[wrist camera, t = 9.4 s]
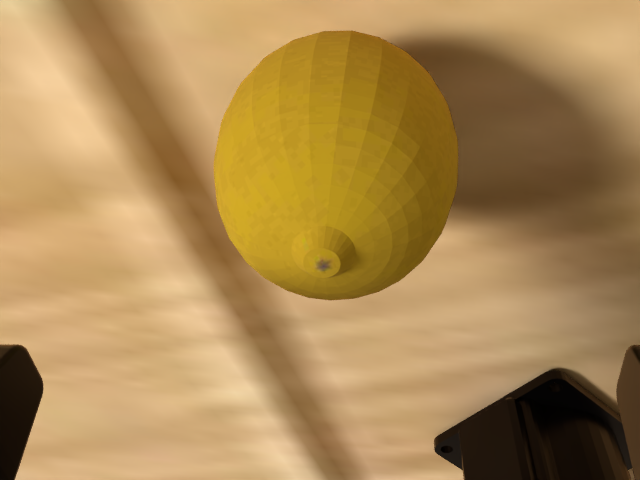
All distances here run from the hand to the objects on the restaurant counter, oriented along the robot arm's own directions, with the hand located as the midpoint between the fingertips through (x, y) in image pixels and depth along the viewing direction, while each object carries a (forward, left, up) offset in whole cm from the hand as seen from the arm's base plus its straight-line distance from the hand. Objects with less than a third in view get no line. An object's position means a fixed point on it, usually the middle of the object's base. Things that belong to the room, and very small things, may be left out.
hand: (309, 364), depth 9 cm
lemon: (0, 0, -10) cm, 11 cm away
